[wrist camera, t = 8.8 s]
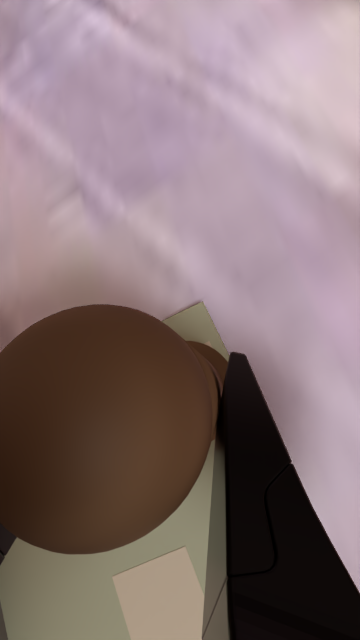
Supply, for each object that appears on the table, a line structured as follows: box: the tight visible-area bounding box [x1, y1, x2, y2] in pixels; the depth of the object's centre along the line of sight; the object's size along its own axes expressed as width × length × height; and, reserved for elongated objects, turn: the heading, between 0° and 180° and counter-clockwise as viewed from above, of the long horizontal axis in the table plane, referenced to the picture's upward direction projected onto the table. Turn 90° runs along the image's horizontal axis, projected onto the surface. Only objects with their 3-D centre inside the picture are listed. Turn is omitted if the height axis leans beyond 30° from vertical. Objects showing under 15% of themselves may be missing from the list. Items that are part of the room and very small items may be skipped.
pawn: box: [0, 304, 228, 554], centre depth 9 cm, size 5×5×12 cm
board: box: [0, 302, 229, 640], centre depth 14 cm, size 14×24×3 cm, turn 114°
